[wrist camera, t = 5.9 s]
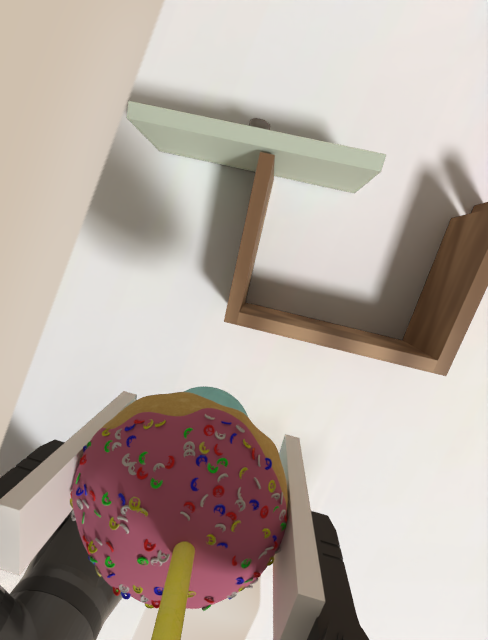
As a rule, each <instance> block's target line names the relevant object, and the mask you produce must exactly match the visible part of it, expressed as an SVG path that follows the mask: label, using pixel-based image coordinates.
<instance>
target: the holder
mask: <svg viewBox="0 0 488 640" xmlns="http://www.w3.org/2000/svg"><path fill="white" fill-rule="evenodd" d="M274 162H275V155H273V154H268V153H264V152H260V154H259V159H258V164H257V168H256V173H255V178H254V182H253V187H252V192H251V197H250V201H249V206H248V211H247V215H246V220H245V225H244V229H243V234H242V239H241V244H240V248H239V253H238V258H237V262H236V267H235V272H234V276H233V281H232V286H231V291H230V295H229V300H228V305H227V309H226V314H225V319H224V322H227V323H231V324H235V325H240V326H244V327H248V328H252V329H256V330H260V331H264V332H268V333H272V334H276V335H280V336H284V337H288V338H293V339H297V340H301V341H305V342H309V343H313V344H317V345H321V346H325V347H329V348H333V349H337V350H342V351H346V352H350V353H354V354H358V355H362V356H366V357H370V358H374V359H378V360H382V361H386V362H390V363H395V364H399V365H403V366H407V367H411V368H415V369H419V370H423V371H427V372H431V373H435V374H439V375H443V376H446V375H447V373H448V371H449V369H450V367H451V365H452V362H453V360H454V358H455V356H456V354H457V351H458V349H459V347H460V345H461V343H462V341H463V338H464V336H465V334H466V332H467V330H468V328H469V325H470V323H471V321H472V319H473V317H474V315H475V312H476V310H477V308H478V306H479V304H480V301H481V299H482V297H483V295H484V293H485V291H486V288H487V286H488V202H486V203H482V204H479V205H475V206H474V207H473V210H472V212H471V214H466V215H462V216H458V217H454V218H451V220H450V223H449V225H448V228H447V230H446V233H445V235H444V238H443V240H442V243H441V245H440V248H439V250H438V253H437V255H436V258H435V260H434V263H433V265H432V268H431V270H430V273H429V275H428V278H427V280H426V283H425V285H424V288H423V290H422V293H421V295H420V298H419V300H418V303H417V305H416V308H415V310H414V313H413V315H412V318H411V320H410V323H409V325H408V328H407V330H406V333H405V335H404V338H403V340H399V339H395V338H391V337H387V336H383V335H379V334H375V333H370V332H366V331H362V330H358V329H354V328H350V327H345V326H341V325H337V324H333V323H329V322H325V321H321V320H316V319H312V318H308V317H304V316H300V315H296V314H291V313H287V312H283V311H279V310H275V309H271V308H267V307H262V306H258V305H254V304H250V303H246V298H247V293H248V289H249V284H250V280H251V276H252V271H253V267H254V263H255V258H256V254H257V250H258V245H259V241H260V237H261V232H262V228H263V224H264V219H265V215H266V211H267V206H268V202H269V197H270V193H271V189H272V184H273V180H274Z"/></svg>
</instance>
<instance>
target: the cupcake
mask: <svg viewBox="0 0 488 640" xmlns="http://www.w3.org/2000/svg"><path fill="white" fill-rule="evenodd" d="M85 448H86V449H85ZM83 452H84V453H83V456H82V458H81V459H80V462H79V465H78V468H77V470H76V473H75V477H74V481H73V486H72V491H71V493H70V495H71V499H70V505H71V507H72V508H73V510H72V512H71V518H72V520H73V521H75V520H76V522H77V526H78V530H79V534H80V537H81V539H82V542H83V545H84V547H85V549H86V551H87V553H88V554H89V556H88V559H89V560H90V561H91V562H92V563H93V564H95V566H96V567H95V569H96V572H97V574H98V575H99V576H100V577H101V576H102V577H103V578H104V579H105V581H106V582H107V583H108V584H109V585H110V586H112V587H113V593H114V594H115V595H116V596H118V595H119V594H121V596H122V597H123V598H124V599H129V598H130V596H131V597H133V598H135V599H136V600H138V601H140V602H143V603H145V606H146V607H147V608H154V607H155V608H159V611H158V614H157V618H156V622H155V627H154V631H153V634H152V639H151V640H181V633H182V628H183V621H184V615H185V609H186V608H191V609H193V608H195V609H196V608H202V610H206V609H208V608H209V607H210V606H211V605H212V604H215V603H217V602H219V601H222V600H224V599H226V598H229V599H231V598H233V597H235V596H236V595H237V592H240V591H242V590H243V589H244V588H253V586H250V584H254V583H256V582H257V581H258V577H260V576H261V574H262V572H263V571H264V570H265V569H266V567H267V566H269V565H271V564H272V563H273V562H274V555H275V554H277V553H279V552H280V551H281V548H280V547H279V546H280V544H281V541H282V539H283V536H284V533H285V529H286V524H287V517H288V516H287V507H288V494H287V482H286V476H285V473H284V469H283V466H282V463H281V460H280V456H279V453H278V450H277V448H276V446H275V444H274V443H273V442H272V440H271V439H270V438H269V437H267V436H266V435H265V434H263V433H262V432H261V431H260V430H259V429H258V428H257V427H256V426H255V425H254V424H253V423H252V422H251V421H250V419H249V418H248V416H247V413H246V411H245V410H244V408H243V406H242V405H241V404H240V403H239V401H238V400H237V399H235V398H234V397H233V396H232V395H230V394H229V393H227V392H225V391H223V390H220V389H217V388H213V387H195V388H191V389H189V390H186V391H184V392H177V393H171V394H158V395H150V396H146V397H143V398H140V399H138V400H136V401H134V402H133V403H131V404H130V405H128V406H127V407H126V408H124V409H123V410H122V411H120V412H119V413H118V414H117V415H116V416H115V417H114V418H113V419H111V420H110V421H109V422H107V423H106V424H105V425H104V426H103V427H102V428H101V429H99V430H98V431H97V432H96V434H95V435H94V436H93V437H92V439H91V440H90V442H88V443H87V446H83ZM73 515H74V517H73ZM279 548H280V549H279ZM271 560H272V561H271ZM124 594H126V595H127V596H125V595H124ZM149 605H150V606H149Z"/></svg>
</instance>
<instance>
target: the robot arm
mask: <svg viewBox="0 0 488 640" xmlns="http://www.w3.org/2000/svg"><path fill="white" fill-rule="evenodd" d="M136 397H137V395H136V394H132V393H128V392H125V391H123V392H122V393H121V394H120V395H119V396H118V397H117V398H115V399H114V400H113V401H112V402H111V403H110V404H109V405H107V406H106V407H105V408H104V409H103V410H102V411H101V412H99V413H98V414H97V415H96V416H95V417H94V418H93V419H91V420H90V421H89V422H88V423H87V424H86V425H85V426H83V427H82V428H81V429H80V430H79V431H78V432H77V433H75V434H74V435H73V436H72V437H71V438H70V439H69V440H67V441H66V442H61V441H58V440H53V441H51V442H49V443H47V444H44V445H42V446H40V447H39V448H37V449H36V450H35V451H34V452H32V453H31V454H30V455H29V456H27V458H26V459H24V460H22V461H21V462H20V463H19V464H17V465H16V467H15V468H12V469H11V470H10V471H9V472H7V473H6V474H5V475H4V476H2V477H1V478H0V570H3V571H6V572H9V573H13V574H16V575H19V576H20V574H21V573H22V572H23V571H24V569H25V568H26V567H27V566H28V564H29V563H30V564H29V566H28V568H27V570H26V572H25V574H24V576H23V577H22V579H21V580H20V582H19V583H18V584H17V585H16V587H15V588H14V589H13V591H12V592H11V593H10V594H9V593H8V592H7V591H6V590H5V589H4V588H3V587H2V586H0V640H96V638H97V636H98V634H99V632H100V630H101V628H102V626H103V624H104V622H105V620H106V619H107V618H108V616H109V615H110V614H111V612H112V611H113V610H114V608H115V607H116V605H117V604H118V603H119V601H120V600H121V599H122V596H121V594H119V595H118V596H116V595H115V594H114V593H113V587H112V586H110V585H109V584H108V583H107V582H106V581H105V579H104V578H103V577H102V576H101V577H100V576H99V575H98V574H97V572H96V569H95V567H96V566H95V564H93V563H92V562H91V561H90V560H89V559H88V556H89V554H88V553H87V551H86V549H85V547H84V545H83V542H82V539H81V537H80V534H79V530H78V526H77V522H76V520H75V521H73V520H72V518H71V512H72V510H73V508H72V507H71V505H70V499H71V495H70V493H71V491H72V486H73V481H74V477H75V473H76V470H77V468H78V465H79V462H80V459H81V458H82V456H83V453H84V452H83V446H87V443H88V442H90V440H91V439H92V437H93V436H94V435H95V434H96V432H97V431H98V430H99V429H101V428H102V427H103V426H104V425H105V424H106V423H107V422H109V421H110V420H111V419H113V418H114V417H115V416H116V415H117V414H118V413H119V412H120V411H122V410H123V409H124V408H126V407H127V406H128V405H130V404H131V403H133V402H134V401H136ZM85 449H86V448H85ZM279 456H280V460H281V463H282V466H283V469H284V473H285V476H286V482H287V494H288V507H287V516H288V517H287V524H286V529H285V533H284V536H283V539H282V541H281V544H280V546H279V547H280V548H281V551H280V552H279V553H277V554H275V555H274V562H273V640H369V639H368V637H367V635H366V634H365V632H364V630H363V629H362V628H361V626H360V624H359V621H358V618H357V615H356V611H355V607H354V603H353V598H352V594H351V590H350V586H349V582H348V578H347V574H346V570H345V565H344V562H343V557H342V553H341V549H340V545H339V541H338V537H337V532H336V529H335V528H334V526H333V524H332V522H331V521H330V519H329V517H328V516H327V515H324V514H320V513H316V512H313V511H311V509H310V503H309V496H308V490H307V484H306V478H305V471H304V465H303V459H302V453H301V446H300V440H299V438H297V437H293V436H289V435H286V434H285V436H284V440H283V443H282V446H281V449H280V453H279ZM73 517H74V515H73ZM280 548H279V549H280ZM124 595H125V594H124Z"/></svg>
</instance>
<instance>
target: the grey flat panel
mask: <svg viewBox="0 0 488 640" xmlns="http://www.w3.org/2000/svg"><path fill="white" fill-rule="evenodd" d="M127 119H128V120H129V121H130V122H131V123H132V124H133V125H134V126H135V127H136V128H137V129H138V130H139V131H140V132H141V133H142V134H143V135H144V136H145V137H146V138H147V139H148V140H149V141H150V142H151V143H152V144H153V145H154V146H155V147H156V148H157V149H158V150H159V151H161V152H166V153H171V154H175V155H180V156H185V157H189V158H194V159H198V160H203V161H208V162H212V163H217V164H222V165H226V166H231V167H235V168H240V169H245V170H249V171H254V172H256V168H257V164H258V159H259V154H260V152H264V153H268V154H273V155H275V162H274V176H277V177H282V178H286V179H291V180H296V181H300V182H305V183H309V184H314V185H319V186H323V187H328V188H332V189H337V190H342V191H346V192H351V193H356V192H357V191H358V190H359V189H361V188H362V187H363V186H364V185H365V184H367V183H368V182H369V181H370V180H371V179H373V178H374V177H375V176H376V175H378V174H379V173H380V172H381V170H382V167H383V164H384V160H385V157H386V154H382V153H377V152H373V151H368V150H363V149H358V148H353V147H348V146H344V145H339V144H334V143H329V142H324V141H320V140H315V139H310V138H305V137H300V136H296V135H291V134H286V133H281V132H276V131H272V130H270V125H269V123H268V122H266V121H265V120H262V119H258V118H254V119H251V120H250V123H249V126H248V125H243V124H238V123H233V122H228V121H224V120H219V119H214V118H209V117H204V116H200V115H195V114H190V113H185V112H180V111H175V110H171V109H166V108H161V107H156V106H151V105H147V104H142V103H137V102H132V101H128V111H127Z"/></svg>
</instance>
